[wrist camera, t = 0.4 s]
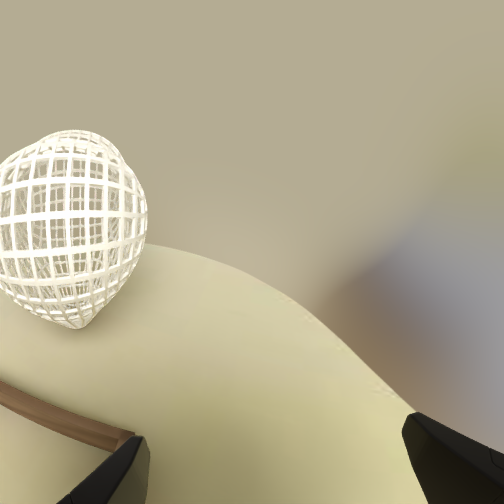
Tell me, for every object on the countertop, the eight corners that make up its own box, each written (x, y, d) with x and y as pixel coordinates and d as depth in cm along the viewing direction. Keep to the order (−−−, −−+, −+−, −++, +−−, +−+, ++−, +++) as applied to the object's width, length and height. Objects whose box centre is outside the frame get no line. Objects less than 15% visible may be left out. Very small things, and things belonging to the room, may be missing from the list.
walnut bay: (102, 601, 6) (89, 601, 5) (-69, 492, 5) (-89, 475, 4) (139, 449, 20) (134, 432, 19) (-10, 389, 19) (-21, 369, 18)
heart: (34, 272, 40) (25, 130, 31) (121, 265, 47) (126, 126, 39) (16, 417, 18) (-63, 163, 9) (167, 400, 26) (174, 146, 17)
